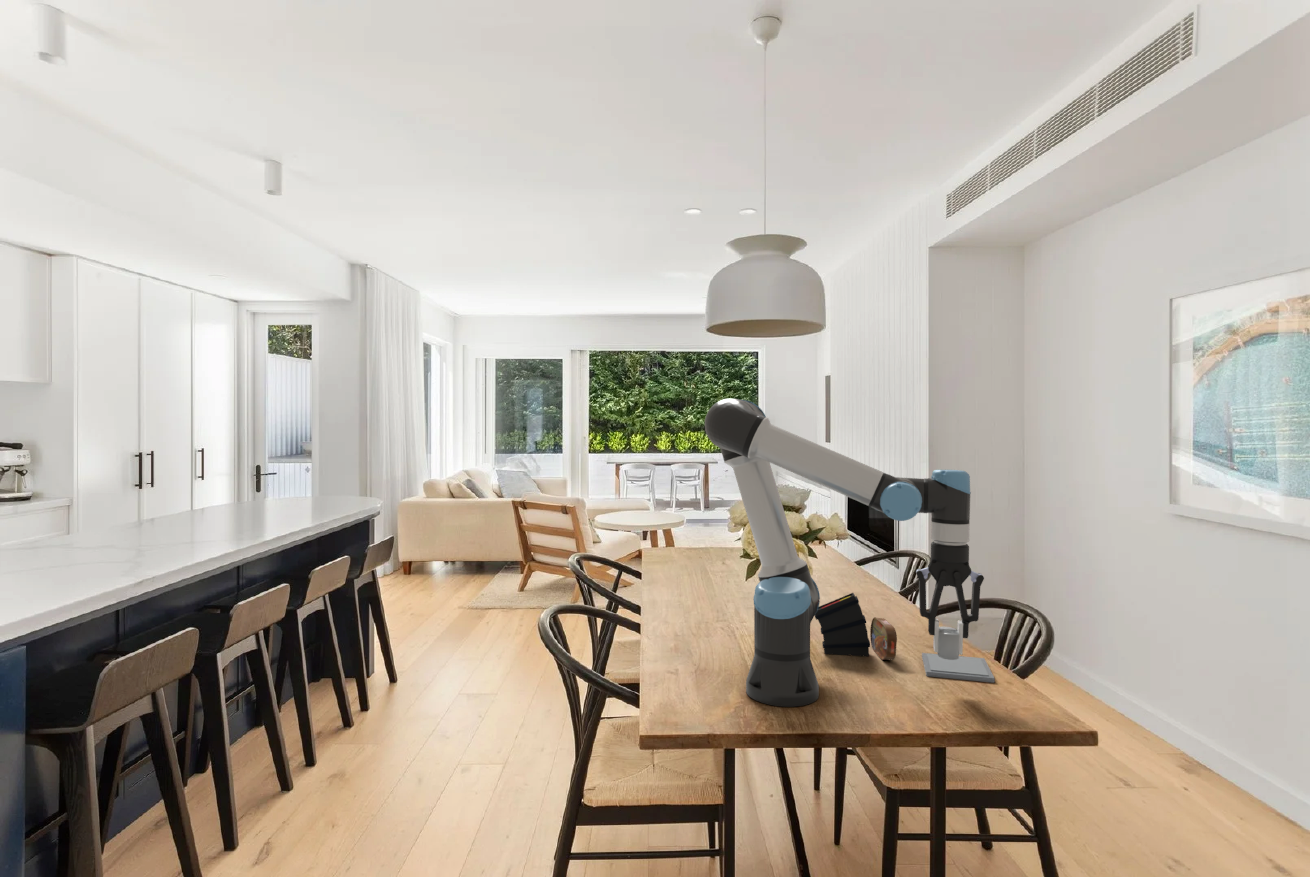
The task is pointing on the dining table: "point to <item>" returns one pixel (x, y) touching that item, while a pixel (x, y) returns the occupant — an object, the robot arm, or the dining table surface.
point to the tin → (883, 638)
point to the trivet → (957, 668)
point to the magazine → (843, 627)
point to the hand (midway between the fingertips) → (947, 651)
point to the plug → (948, 643)
